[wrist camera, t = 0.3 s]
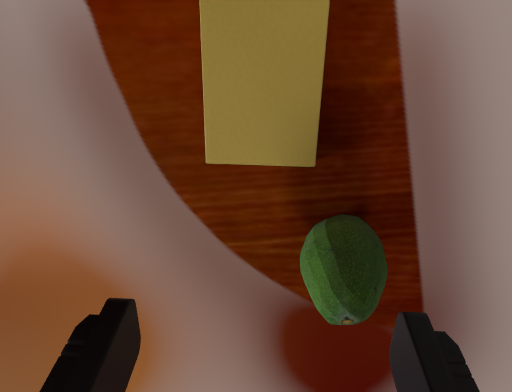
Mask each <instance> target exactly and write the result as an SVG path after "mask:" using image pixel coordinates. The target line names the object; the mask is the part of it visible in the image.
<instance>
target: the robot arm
mask: <svg viewBox="0 0 512 392" xmlns="http://www.w3.org/2000/svg"><path fill="white" fill-rule="evenodd" d="M140 340H141V335H140V328H139V322H138V316H137V309H136V303H135V300H134V299H123V298H109V299H107V301H106V302H105V305H104V307H103V308H102V310H101V312H100V314H99V315H91V314H89V315H88V316H87V317H86V318H85V319H84V320H83V321H82V322H80V323H79V324H78V325H77V326H76V327H75V329H74V331H73V333H72V334H71V336H70V338H69V340H68V343H67V344H66V345H65V347H64V349H63V350H62V352H61V356H59V358H58V359H57V362H56V363H55V365H54V367H53V368H52V370H51V372H50V374H49V376H48V377H47V379H46V381H45V383H44V385H43V387H42V388H41V390H40V392H125V390H126V388H127V385H128V382H129V379H130V377H131V374H132V371H133V368H134V366H135V363H136V360H137V357H138V354H139V349H140V342H141V341H140ZM465 362H466V361H465V359H464V357H463V355H462V353H461V351H460V348H459V346H458V345H457V344H456V343H455V342H454V341H453V340H452V339H451V338H450V337H449V336H448V335H447V334H446V333H445V332H439V331H434V329H433V327H432V325H431V322H430V320H429V318H428V316H427V314H426V313H419V312H399V313H398V315H397V319H396V323H395V328H394V332H393V337H392V341H391V345H390V366H391V371H392V374H393V378H394V382H395V385H396V389H397V392H479V389H478V387H477V385H476V383H475V381H474V379H473V378H472V376H471V375H472V374H471V372H470V370H469V368H468V366H467V365H466V363H465Z"/></svg>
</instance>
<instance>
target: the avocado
mask: <svg viewBox="0 0 512 392" xmlns="http://www.w3.org/2000/svg"><path fill="white" fill-rule="evenodd" d="M300 267H301V274H302V276H303V279H304V282H305V285H306V287H307V289H308V291H309V294H310V296H311V298H312V300H313V302H314V305H315V307H316V309H317V310H318V311H319V312H320V313H321V314H322V316H323V317H324V318H325V319H326V320H327V322H328V323H330V324H333V325H352V324H357V323H360V322H362V321H364V320H366V319H367V318H368V317H369V316H370V315H371V314H372V313H373V312H374V311H375V309H376V307H377V305H378V302H379V299H380V296H381V294H382V292H383V289H384V287H385V283H386V278H387V274H388V267H387V263H386V259H385V254H384V250H383V246H382V243H381V241H380V240H379V238H378V236H377V235H376V233H375V232H374V231H373V230H372V228H371V227H370V226H369V225H368V224H367V223H366V222H364V221H363V220H362V219H361V218H359V217H357V216H351V215H344V214H341V215H337V216H334V217H330V218H327V219H325V220H323V221H321V222H320V223H318V224H316V225H314V227H313V228H312V229H311V231H310V232H309V234H308V235H307V237H306V239H305V242H304V245H303V248H302V251H301V253H300Z"/></svg>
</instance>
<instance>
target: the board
mask: <svg viewBox="0 0 512 392" xmlns="http://www.w3.org/2000/svg"><path fill="white" fill-rule="evenodd" d="M329 3H330V0H200V25H201V50H202V75H203V100H204V124H205V149H206V163H217V164H246V165H274V166H303V167H315V162H316V151H317V139H318V128H319V117H320V105H321V94H322V83H323V71H324V60H325V49H326V37H327V26H328V15H329Z"/></svg>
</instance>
